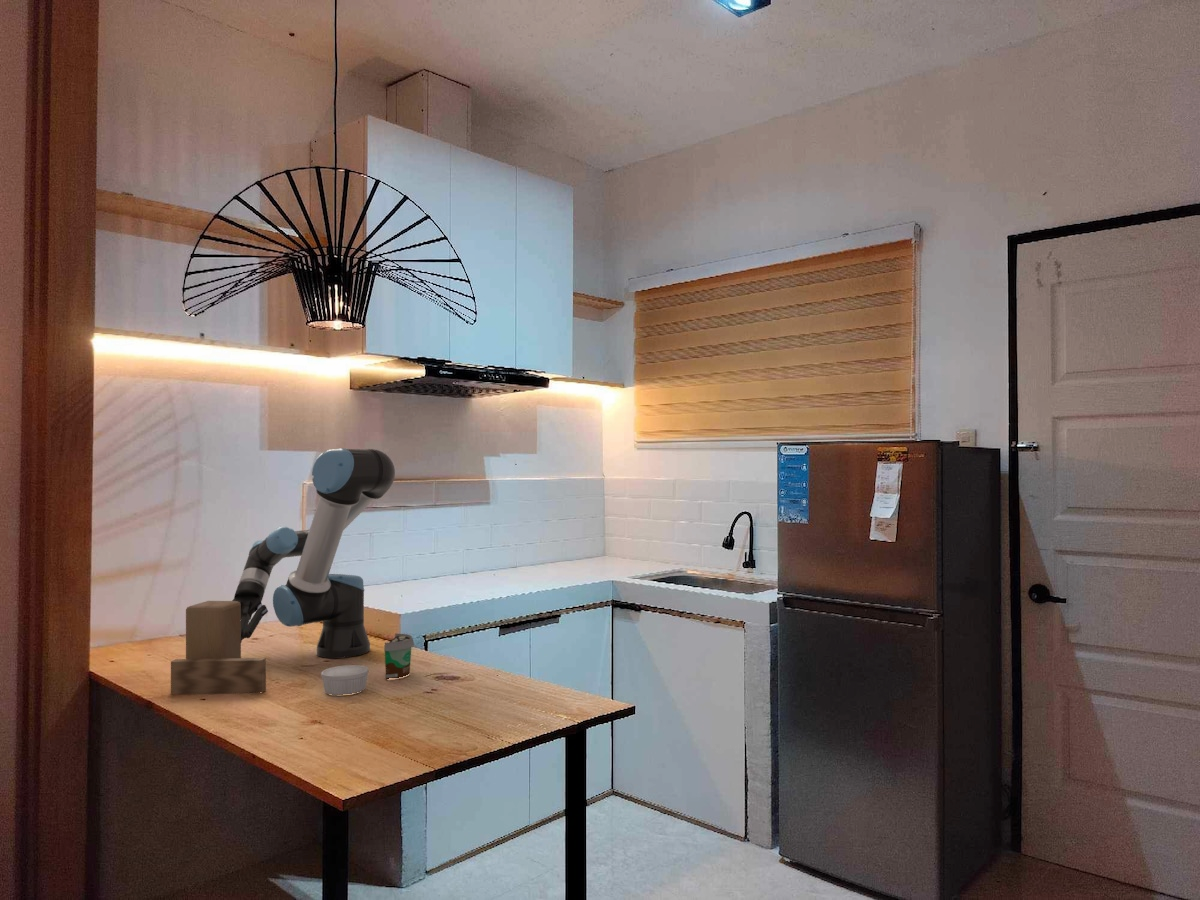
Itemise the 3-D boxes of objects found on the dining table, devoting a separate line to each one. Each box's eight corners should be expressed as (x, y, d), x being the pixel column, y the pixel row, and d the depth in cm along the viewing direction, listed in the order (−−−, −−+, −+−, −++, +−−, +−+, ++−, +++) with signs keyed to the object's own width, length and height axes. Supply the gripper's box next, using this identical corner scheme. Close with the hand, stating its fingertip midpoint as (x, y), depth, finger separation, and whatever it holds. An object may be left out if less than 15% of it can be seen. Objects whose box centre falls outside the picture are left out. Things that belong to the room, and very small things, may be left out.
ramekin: (312, 691, 203) (312, 670, 203) (354, 683, 211) (354, 662, 211) (334, 701, 195) (334, 678, 195) (377, 691, 203) (377, 670, 203)
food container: (408, 682, 212) (408, 642, 212) (384, 682, 211) (384, 643, 212) (418, 669, 224) (418, 632, 224) (395, 670, 224) (395, 633, 224)
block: (242, 676, 219) (242, 600, 219) (221, 686, 209) (221, 607, 209) (206, 675, 220) (206, 600, 220) (184, 685, 210) (184, 606, 210)
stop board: (265, 690, 205) (265, 657, 205) (262, 693, 202) (262, 660, 202) (175, 691, 204) (175, 659, 204) (170, 694, 202) (170, 661, 202)
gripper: (277, 594, 243) (255, 666, 226) (233, 595, 243) (207, 666, 226) (270, 579, 238) (247, 651, 221) (225, 580, 237) (198, 651, 221)
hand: (227, 659), depth 223 cm, fingers closed
